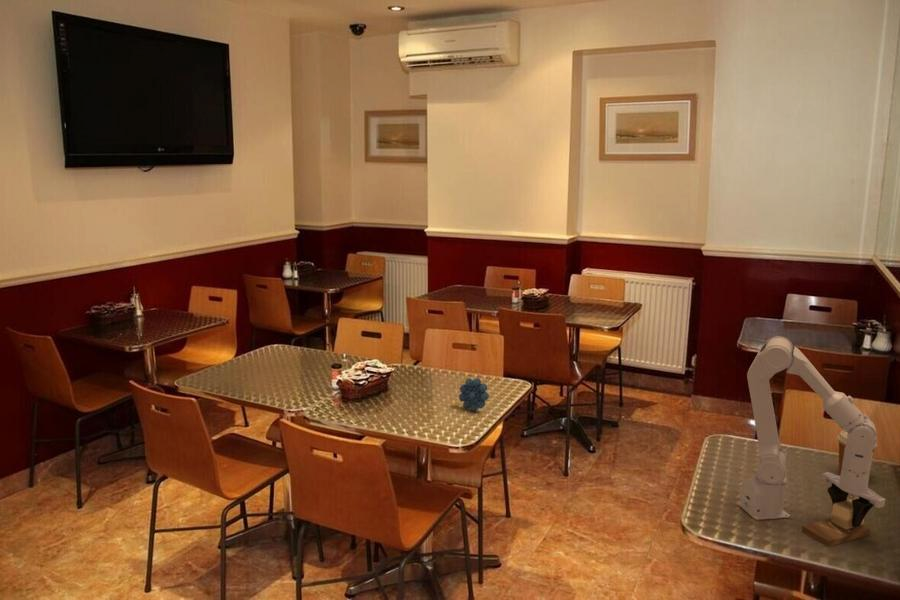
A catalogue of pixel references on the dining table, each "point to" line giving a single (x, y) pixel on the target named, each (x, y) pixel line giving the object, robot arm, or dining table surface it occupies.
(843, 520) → the sanding block
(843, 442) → the disposable coffee cup
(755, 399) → the robot arm
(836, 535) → the walnut board
